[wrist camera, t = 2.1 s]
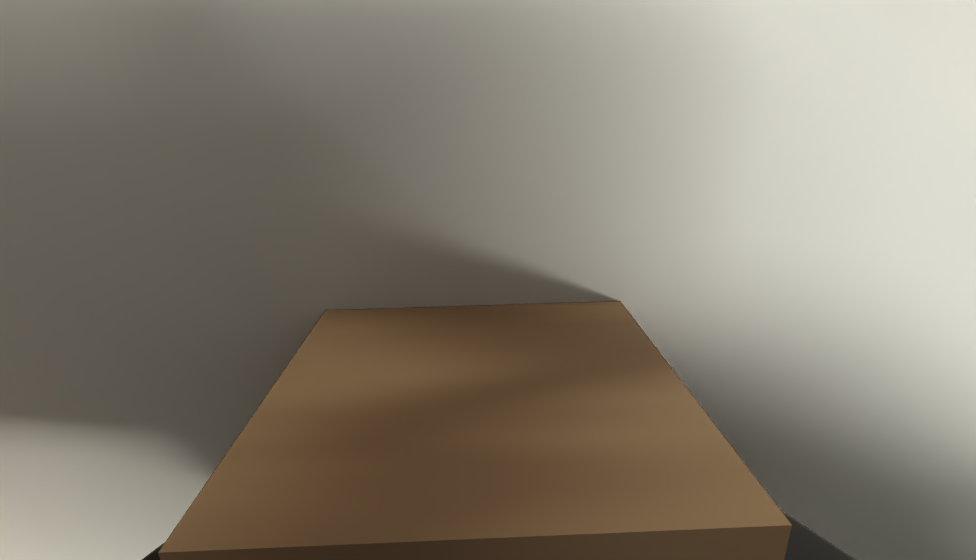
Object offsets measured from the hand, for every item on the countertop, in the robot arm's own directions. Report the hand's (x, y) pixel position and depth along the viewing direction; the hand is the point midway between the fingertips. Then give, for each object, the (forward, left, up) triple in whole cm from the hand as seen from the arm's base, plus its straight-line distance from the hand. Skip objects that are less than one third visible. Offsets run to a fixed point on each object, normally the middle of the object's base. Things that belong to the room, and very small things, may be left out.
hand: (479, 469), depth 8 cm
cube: (0, 0, -1) cm, 1 cm away
